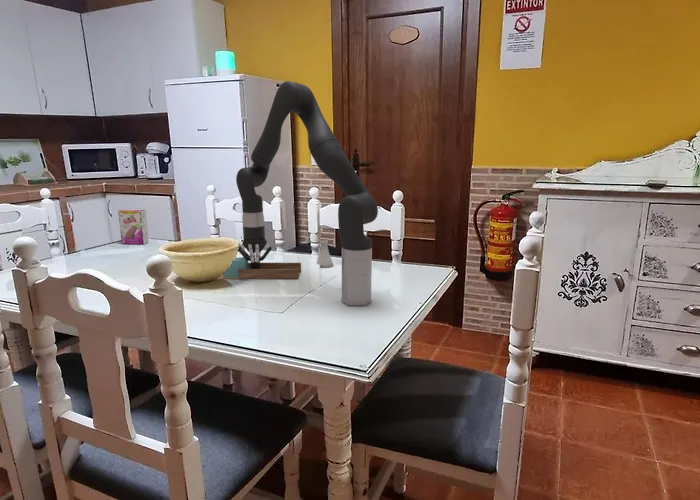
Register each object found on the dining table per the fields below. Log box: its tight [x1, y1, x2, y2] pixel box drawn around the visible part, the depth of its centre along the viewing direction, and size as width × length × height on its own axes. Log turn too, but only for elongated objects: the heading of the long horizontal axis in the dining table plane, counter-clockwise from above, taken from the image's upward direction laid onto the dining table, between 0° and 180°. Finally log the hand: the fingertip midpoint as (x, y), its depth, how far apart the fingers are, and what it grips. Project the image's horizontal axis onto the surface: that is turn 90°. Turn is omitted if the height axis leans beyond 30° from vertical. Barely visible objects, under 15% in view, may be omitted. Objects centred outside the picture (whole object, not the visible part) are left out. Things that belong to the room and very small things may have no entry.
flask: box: [315, 239, 334, 268], centre depth 190 cm, size 7×7×10 cm
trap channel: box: [216, 262, 302, 280], centre depth 172 cm, size 10×31×5 cm, turn 90°
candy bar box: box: [118, 208, 149, 246], centre depth 226 cm, size 11×5×16 cm, turn 84°
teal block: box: [223, 256, 249, 277], centre depth 172 cm, size 5×8×6 cm, turn 90°
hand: (256, 271), depth 173 cm, fingers closed
